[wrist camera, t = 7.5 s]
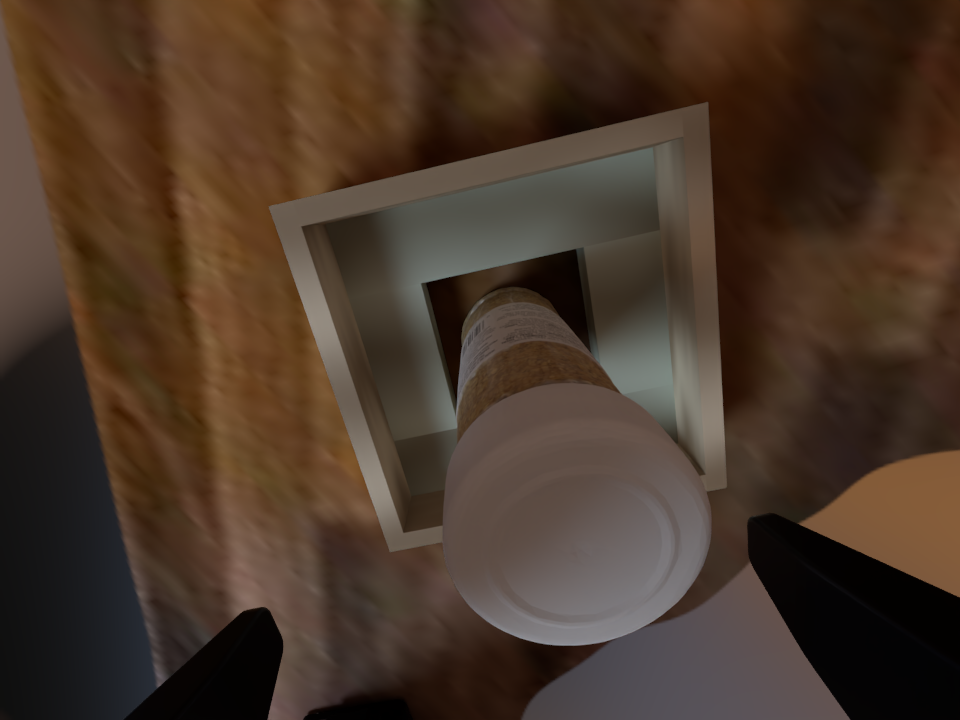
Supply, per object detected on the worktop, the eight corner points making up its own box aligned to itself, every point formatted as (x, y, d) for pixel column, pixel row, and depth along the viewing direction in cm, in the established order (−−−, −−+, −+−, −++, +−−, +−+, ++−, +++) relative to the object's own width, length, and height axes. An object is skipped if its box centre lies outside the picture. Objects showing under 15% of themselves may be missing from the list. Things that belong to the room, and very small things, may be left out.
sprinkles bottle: (520, 400, 21) (595, 695, 8) (440, 345, 20) (384, 583, 7) (583, 323, 20) (783, 527, 7) (501, 261, 19) (562, 368, 6)
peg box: (682, 439, 22) (727, 487, 18) (404, 494, 22) (390, 551, 19) (656, 125, 17) (708, 101, 14) (311, 207, 18) (268, 206, 14)
